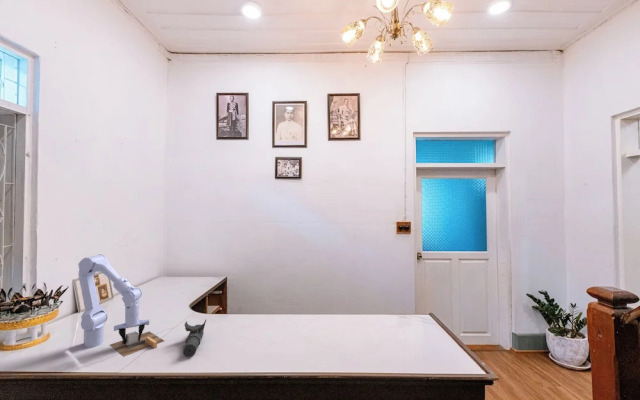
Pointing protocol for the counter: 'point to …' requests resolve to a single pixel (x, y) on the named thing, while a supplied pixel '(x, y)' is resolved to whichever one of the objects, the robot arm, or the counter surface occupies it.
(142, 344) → the base board
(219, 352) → the counter surface
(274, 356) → the counter surface
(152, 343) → the bar
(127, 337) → the white block
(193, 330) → the laser sight
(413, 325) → the counter surface
